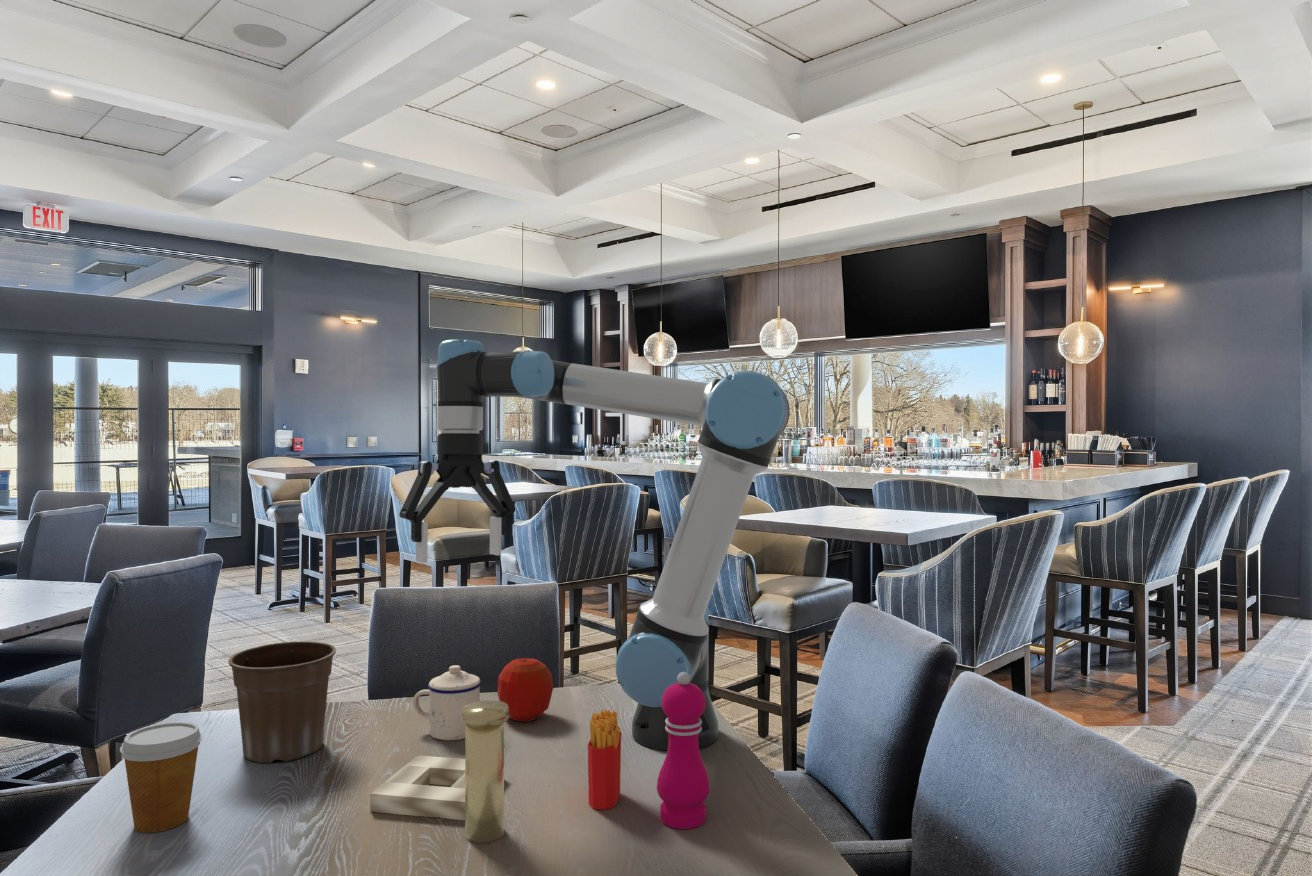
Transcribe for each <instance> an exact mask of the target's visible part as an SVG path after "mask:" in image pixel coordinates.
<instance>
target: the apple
mask: <svg viewBox="0 0 1312 876" xmlns="http://www.w3.org/2000/svg"><path fill="white" fill-rule="evenodd" d="M553 690H554V683H553V674H552V672H551V671H550V669H549V668H548V667H547V665H546V664H545V663H543V662H541V661H540V660H538V659H536V658H527V657H526V655H524V658H515V659H513V660H511V661H509V663H507V664H506V665H505V666H504V667H503V668H502V671H501V672H500V674H499V675H498V678H497V691H496V692H497V696H498V701H501V702H504V703H506V704H507V705H508V717H509V718H511V719H512V720H514V721H518V722H525V723H526V722H532V721H534V720H536V719H537V718H538V717H540V716H541V715H542V714H543V713H544V712H546V711H547V710H549V708H550V703H551V699H552V694H553V692H554V691H553Z"/></svg>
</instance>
